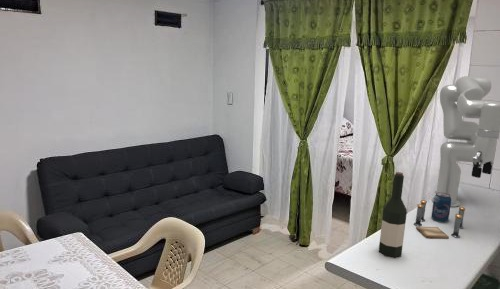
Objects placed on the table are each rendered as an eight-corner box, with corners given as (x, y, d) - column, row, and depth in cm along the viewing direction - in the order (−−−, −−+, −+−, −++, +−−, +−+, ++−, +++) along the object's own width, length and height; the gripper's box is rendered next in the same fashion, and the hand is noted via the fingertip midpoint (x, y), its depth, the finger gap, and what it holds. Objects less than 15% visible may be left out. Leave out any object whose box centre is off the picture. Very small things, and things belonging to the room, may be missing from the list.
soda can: (432, 221, 168) (436, 196, 166) (429, 216, 175) (433, 191, 172) (449, 224, 166) (453, 198, 164) (446, 218, 173) (450, 193, 170)
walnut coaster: (416, 228, 160) (416, 226, 160) (437, 229, 160) (437, 226, 160) (426, 238, 151) (426, 235, 151) (448, 238, 151) (448, 236, 151)
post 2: (416, 218, 171) (418, 199, 169) (423, 219, 171) (425, 200, 169) (419, 221, 168) (421, 202, 166) (426, 221, 168) (429, 202, 166)
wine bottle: (373, 252, 138) (382, 172, 132) (383, 244, 144) (392, 168, 138) (396, 260, 132) (406, 177, 126) (405, 252, 138) (415, 173, 132)
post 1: (412, 223, 166) (415, 203, 164) (419, 223, 166) (422, 203, 164) (415, 226, 162) (418, 206, 161) (423, 226, 163) (425, 206, 161)
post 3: (449, 234, 156) (452, 213, 154) (457, 234, 156) (460, 213, 154) (453, 237, 152) (456, 216, 151) (461, 238, 152) (464, 217, 151)
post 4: (453, 225, 165) (456, 206, 163) (460, 225, 165) (463, 206, 163) (457, 228, 161) (460, 208, 160) (464, 229, 161) (468, 209, 160)
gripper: (487, 130, 159) (480, 170, 163) (468, 134, 149) (461, 176, 152) (507, 133, 153) (500, 174, 157) (489, 137, 143) (481, 181, 146)
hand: (481, 175), depth 154 cm, fingers open, 9 cm apart
